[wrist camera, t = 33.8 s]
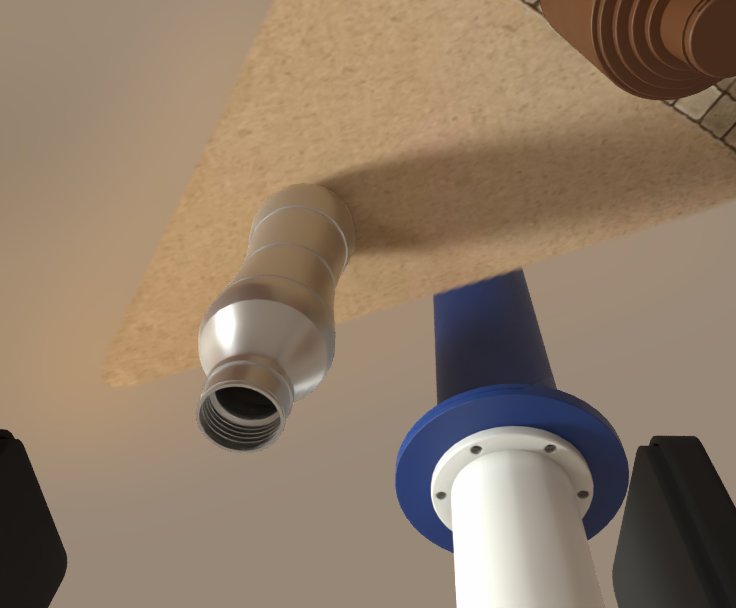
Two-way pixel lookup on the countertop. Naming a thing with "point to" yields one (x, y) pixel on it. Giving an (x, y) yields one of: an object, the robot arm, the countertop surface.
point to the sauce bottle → (652, 42)
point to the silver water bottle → (274, 319)
